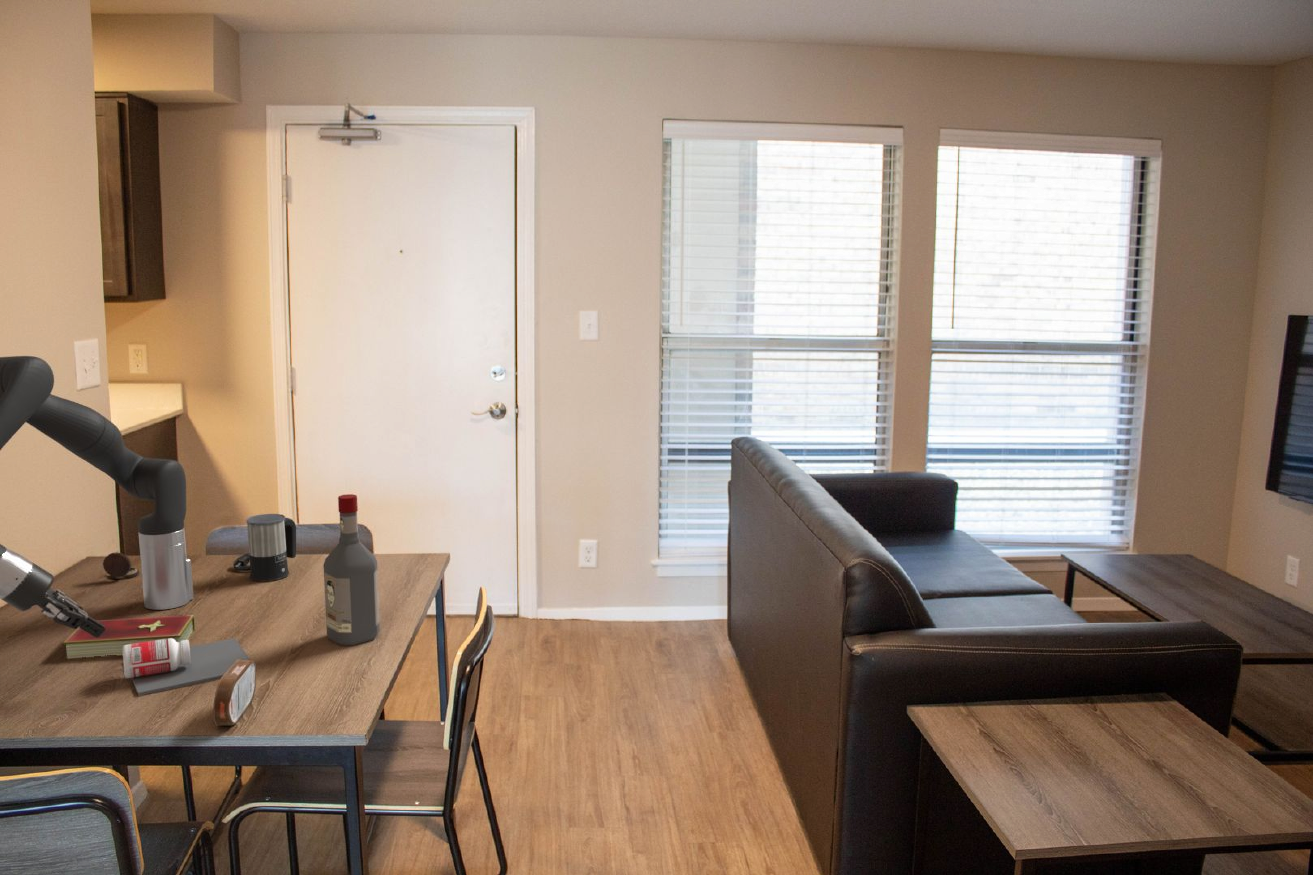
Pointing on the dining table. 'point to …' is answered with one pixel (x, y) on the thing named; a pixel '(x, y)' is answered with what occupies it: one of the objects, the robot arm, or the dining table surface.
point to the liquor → (351, 583)
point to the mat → (195, 667)
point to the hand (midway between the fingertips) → (101, 632)
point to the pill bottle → (155, 657)
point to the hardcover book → (128, 635)
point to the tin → (234, 692)
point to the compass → (119, 566)
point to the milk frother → (268, 547)
